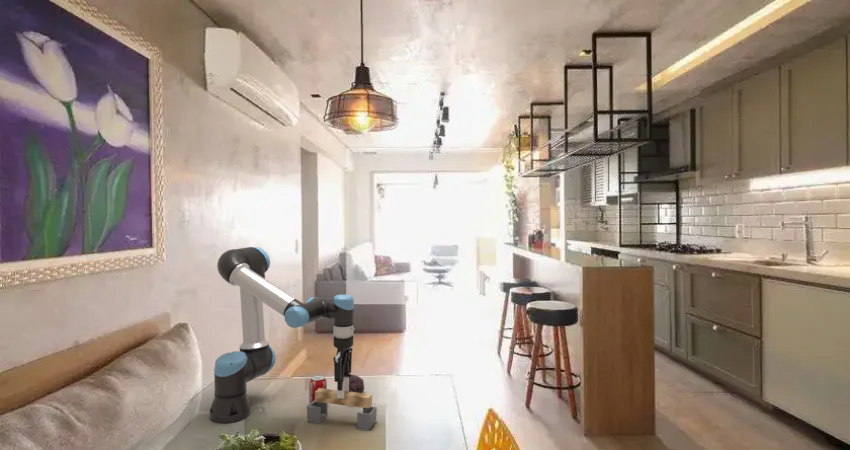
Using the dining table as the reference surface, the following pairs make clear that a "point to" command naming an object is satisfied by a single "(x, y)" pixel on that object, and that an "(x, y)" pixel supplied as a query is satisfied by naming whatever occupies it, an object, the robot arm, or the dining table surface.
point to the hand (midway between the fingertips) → (342, 395)
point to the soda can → (316, 385)
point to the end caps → (319, 412)
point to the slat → (349, 398)
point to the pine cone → (356, 384)
